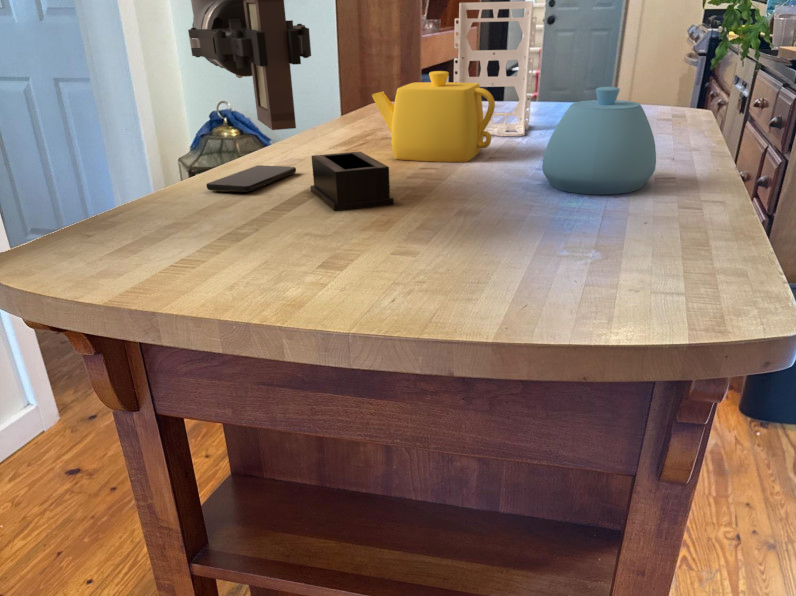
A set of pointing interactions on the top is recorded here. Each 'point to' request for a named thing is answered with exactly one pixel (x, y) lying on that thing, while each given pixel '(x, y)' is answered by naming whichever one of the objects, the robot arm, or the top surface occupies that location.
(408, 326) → the top surface
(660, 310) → the top surface
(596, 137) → the sugar bowl
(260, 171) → the smartphone
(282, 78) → the frame
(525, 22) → the white perforated rack
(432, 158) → the teapot
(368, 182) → the holder
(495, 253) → the top surface
